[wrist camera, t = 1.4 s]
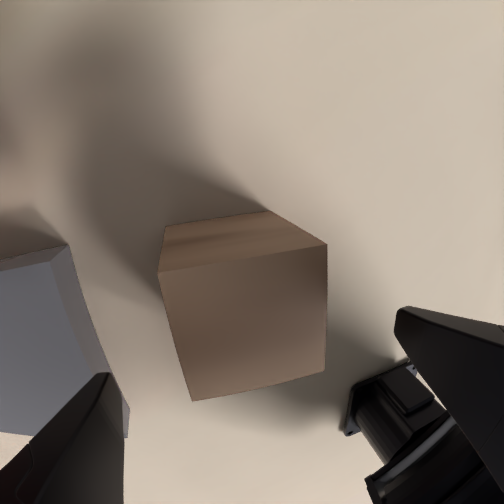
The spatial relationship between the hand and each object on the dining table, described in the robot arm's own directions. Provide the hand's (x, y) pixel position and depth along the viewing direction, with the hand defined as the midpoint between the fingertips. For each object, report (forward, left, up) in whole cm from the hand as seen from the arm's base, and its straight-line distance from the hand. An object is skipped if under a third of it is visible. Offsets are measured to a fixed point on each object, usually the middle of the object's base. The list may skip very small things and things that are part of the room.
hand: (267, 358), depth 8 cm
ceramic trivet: (-3, +13, -7) cm, 15 cm away
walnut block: (0, 0, -7) cm, 7 cm away
